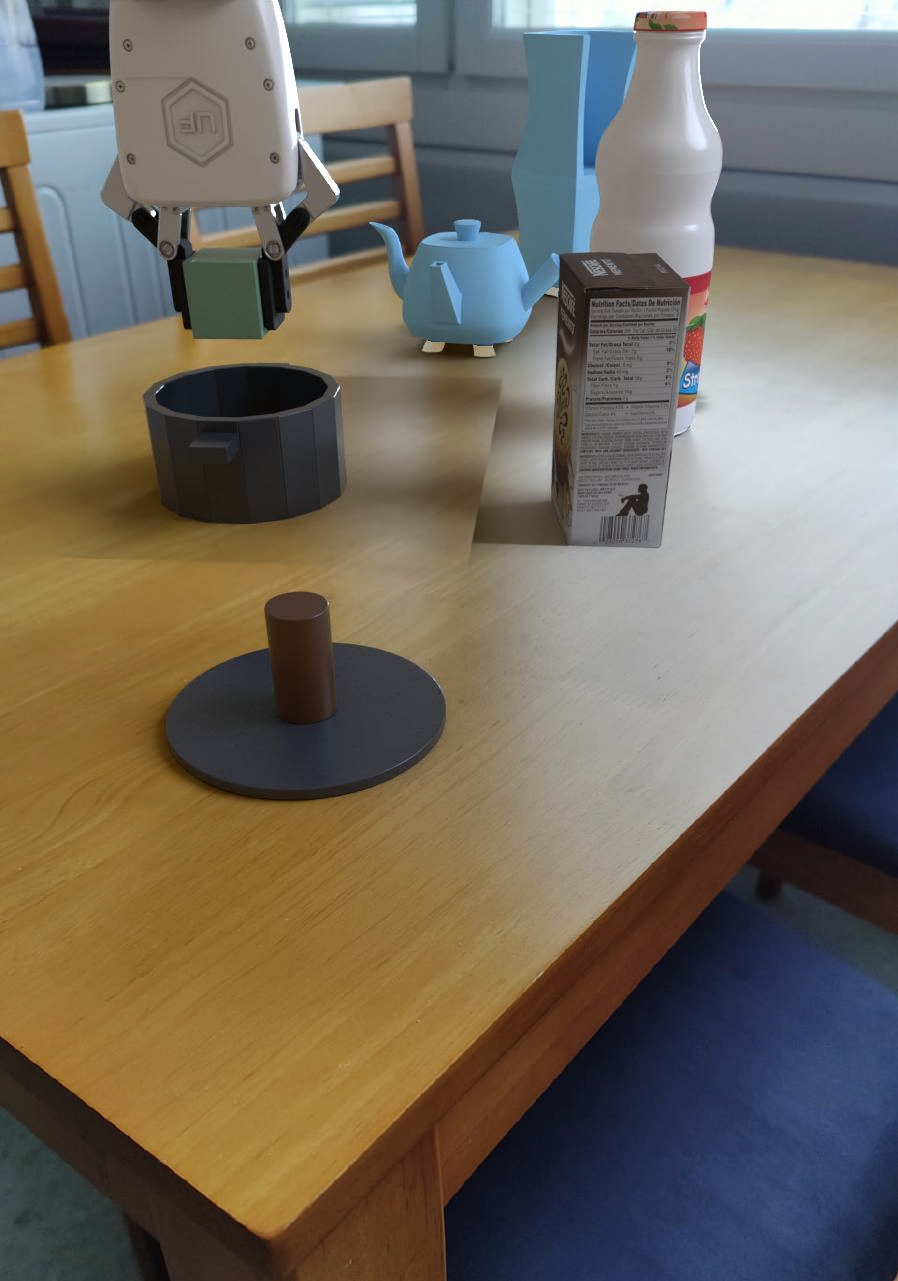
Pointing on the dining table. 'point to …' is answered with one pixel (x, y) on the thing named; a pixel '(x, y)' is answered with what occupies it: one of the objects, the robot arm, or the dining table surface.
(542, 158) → the vase
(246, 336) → the block
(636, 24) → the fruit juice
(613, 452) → the coffee box
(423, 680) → the lid
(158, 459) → the pot
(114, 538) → the dining table surface
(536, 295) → the teapot
